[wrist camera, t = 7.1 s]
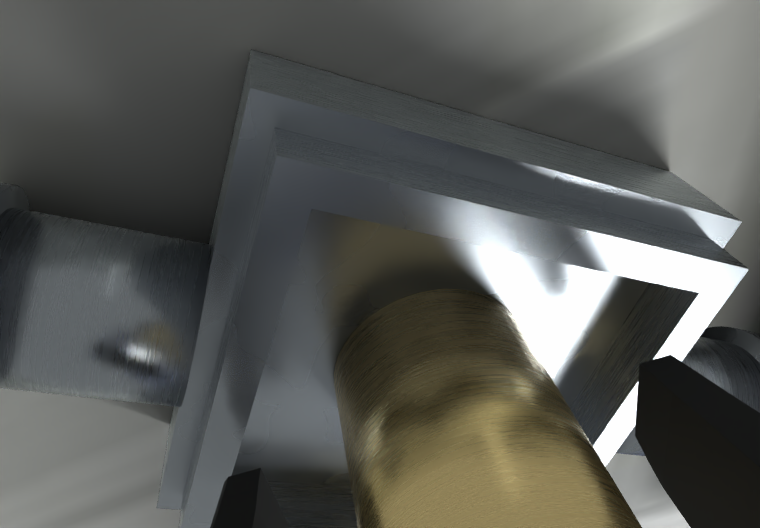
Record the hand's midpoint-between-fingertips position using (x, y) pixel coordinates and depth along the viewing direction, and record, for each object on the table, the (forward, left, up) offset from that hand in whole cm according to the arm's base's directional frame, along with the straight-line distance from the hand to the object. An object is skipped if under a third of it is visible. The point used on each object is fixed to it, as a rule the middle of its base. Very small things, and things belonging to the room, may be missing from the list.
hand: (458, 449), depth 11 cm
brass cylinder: (0, 0, -2) cm, 2 cm away
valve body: (0, 0, -5) cm, 5 cm away
